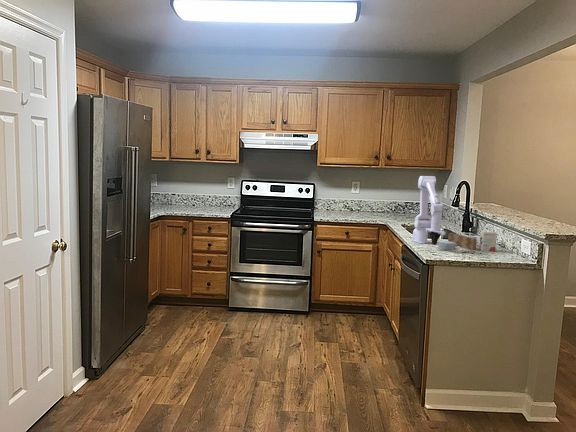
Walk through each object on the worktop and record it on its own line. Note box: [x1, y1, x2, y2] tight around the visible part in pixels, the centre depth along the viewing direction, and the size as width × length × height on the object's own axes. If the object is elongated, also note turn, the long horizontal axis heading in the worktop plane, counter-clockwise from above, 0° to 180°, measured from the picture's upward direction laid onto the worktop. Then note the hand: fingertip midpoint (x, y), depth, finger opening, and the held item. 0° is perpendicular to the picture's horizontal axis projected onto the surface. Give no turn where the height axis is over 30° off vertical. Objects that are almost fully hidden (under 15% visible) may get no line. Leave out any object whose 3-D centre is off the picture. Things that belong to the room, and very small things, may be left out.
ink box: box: [478, 230, 498, 252], centre depth 295 cm, size 9×5×12 cm, turn 92°
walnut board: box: [447, 232, 478, 251], centre depth 304 cm, size 20×3×7 cm, turn 28°
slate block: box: [437, 240, 457, 251], centre depth 298 cm, size 7×8×4 cm
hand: (434, 244), depth 293 cm, fingers closed
